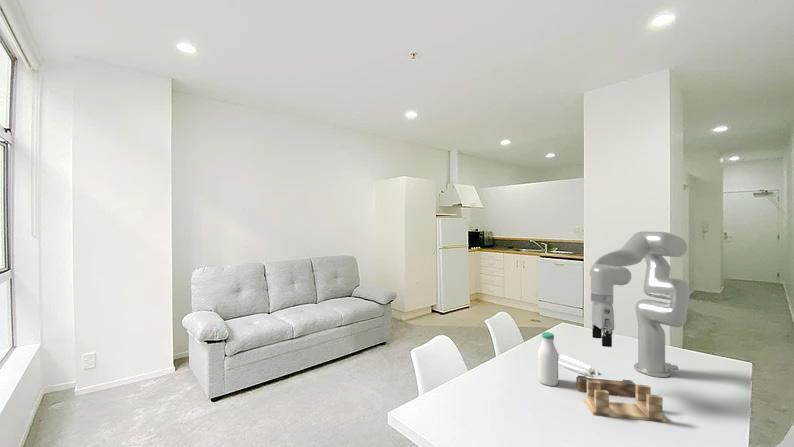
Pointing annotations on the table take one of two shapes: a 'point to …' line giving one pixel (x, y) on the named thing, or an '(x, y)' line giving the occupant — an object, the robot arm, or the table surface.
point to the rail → (609, 386)
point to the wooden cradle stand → (625, 404)
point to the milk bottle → (547, 361)
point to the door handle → (582, 371)
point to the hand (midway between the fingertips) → (601, 342)
